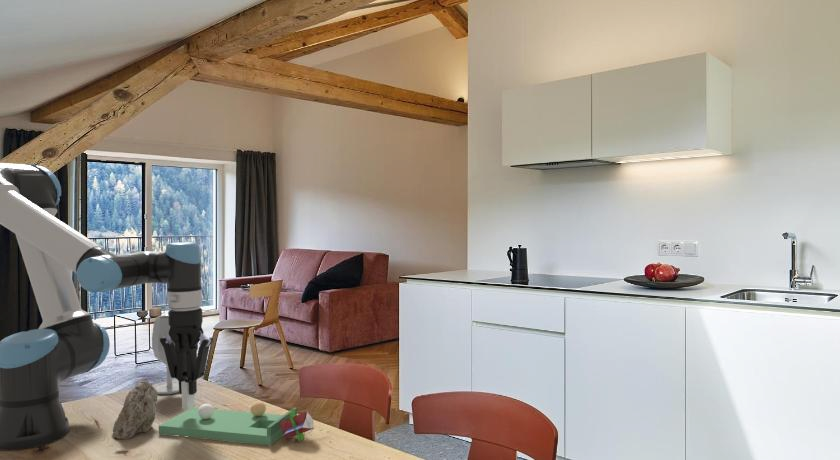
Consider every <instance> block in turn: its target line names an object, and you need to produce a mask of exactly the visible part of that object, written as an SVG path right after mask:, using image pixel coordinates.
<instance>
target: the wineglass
mask: <svg viewBox="0 0 840 460" xmlns="http://www.w3.org/2000/svg"><path fill="white" fill-rule="evenodd" d="M169 330H170V326H169V324H168V314H165V315H159V316H156V317H155V320H154V323H153V327H152V333H151V334H152V335H151V349H152V352H153V354H154V358H155V359H157V360H159V361H160V362H161V363H163V364H164V365H166V367H165V368H166V383H165V384H161V385H157V386H156V387H153V388H154V389H156V390H157V395H174V394H178V393H179V382H178V383H175V382H174V383H173V378H172V377H171V376H170V372H169V367H168V363H167V359H166V355H165V351H164V347H163V346H162V344H161V342H160V338H162V337H165V336H166V335H168V334H169ZM174 345H175V344H174Z"/></svg>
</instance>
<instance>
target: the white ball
mask: <svg viewBox="0 0 840 460" xmlns="http://www.w3.org/2000/svg"><path fill="white" fill-rule="evenodd" d="M198 408H199V410H198V414H199V416H200V417H201V418H202V419H209V418H211V417H212V415H213V414H214V409H215V408H214V406H213V405H212V404H210V403H203V404H201V405H200V406H199V407H198Z"/></svg>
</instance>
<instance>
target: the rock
mask: <svg viewBox="0 0 840 460" xmlns="http://www.w3.org/2000/svg"><path fill="white" fill-rule="evenodd" d="M154 388H155V387H153V385H152V384H150V383H149V381H148V380H140V381H139V382H138V383H137V384H136V385H135V386H134V387H133V388H132V389H130V390H129V392H128V393H127V394H126V397H125V400H124V403H123V406H122V409H121V410H120V412H119V414H118V417H117V418H116V420H115V422H114V424H113V428H112V432H113V433H112V438H116V439H117V440H120V439H131V438H133V436H135V435H136V434H140V433H145V432H149V431H150V429H151V428H152V425H153V424H154V421H155V419H156V408H157V401H158V394H157V390H156V389H154Z"/></svg>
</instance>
